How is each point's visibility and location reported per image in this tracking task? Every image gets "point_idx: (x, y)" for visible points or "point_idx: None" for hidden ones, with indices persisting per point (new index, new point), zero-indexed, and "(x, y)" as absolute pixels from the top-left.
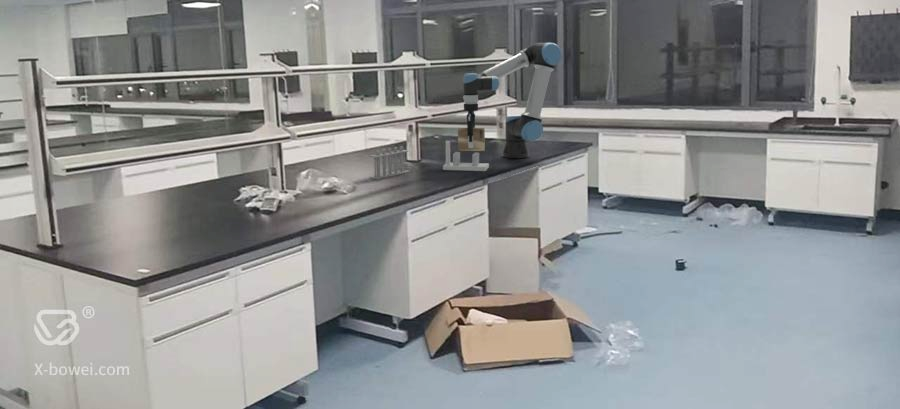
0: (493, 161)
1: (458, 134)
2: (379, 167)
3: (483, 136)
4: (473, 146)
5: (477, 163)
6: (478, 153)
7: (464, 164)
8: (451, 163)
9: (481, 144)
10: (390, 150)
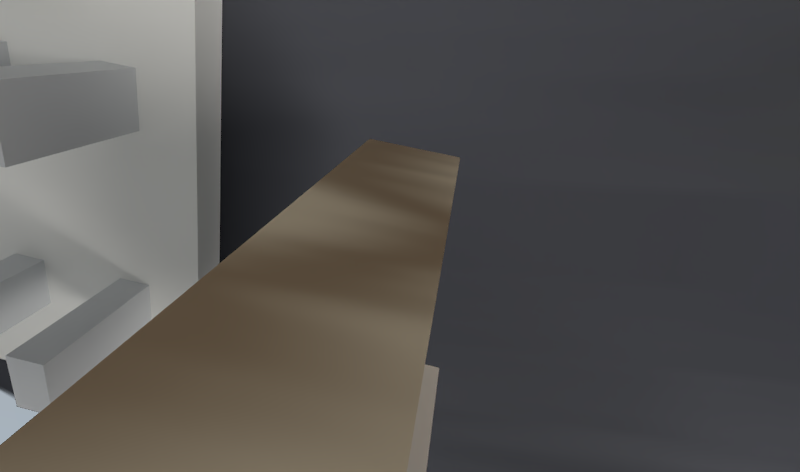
0: (559, 467)
1: (183, 320)
2: None
3: None
4: None
5: (26, 314)
6: (21, 398)
7: (83, 180)
8: (110, 11)
9: None
10: None
